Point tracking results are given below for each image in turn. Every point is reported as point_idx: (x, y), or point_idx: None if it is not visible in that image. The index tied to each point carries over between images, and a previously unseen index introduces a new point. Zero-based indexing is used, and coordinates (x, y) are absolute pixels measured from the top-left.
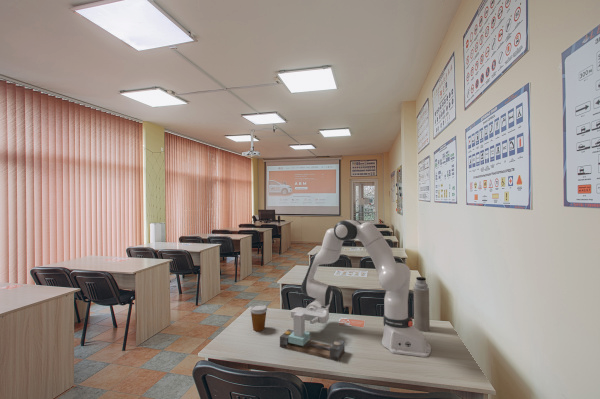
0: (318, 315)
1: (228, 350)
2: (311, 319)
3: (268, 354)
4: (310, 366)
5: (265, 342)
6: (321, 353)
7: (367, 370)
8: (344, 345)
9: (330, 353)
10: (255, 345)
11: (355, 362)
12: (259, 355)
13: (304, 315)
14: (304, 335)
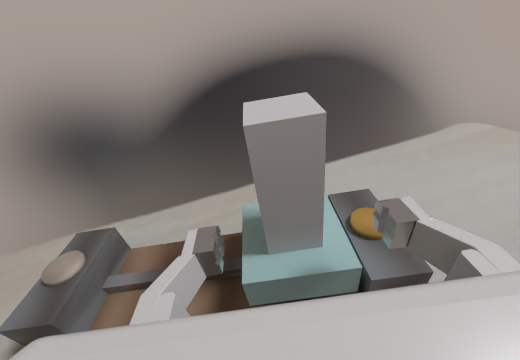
0: (113, 343)
1: (455, 143)
2: (211, 241)
3: (345, 180)
4: (197, 200)
5: (448, 217)
6: (166, 244)
7: (7, 266)
8: (19, 342)
9: (123, 243)
10: (442, 187)
11: (30, 289)
12: (360, 167)
13: (247, 146)
14: (256, 235)
